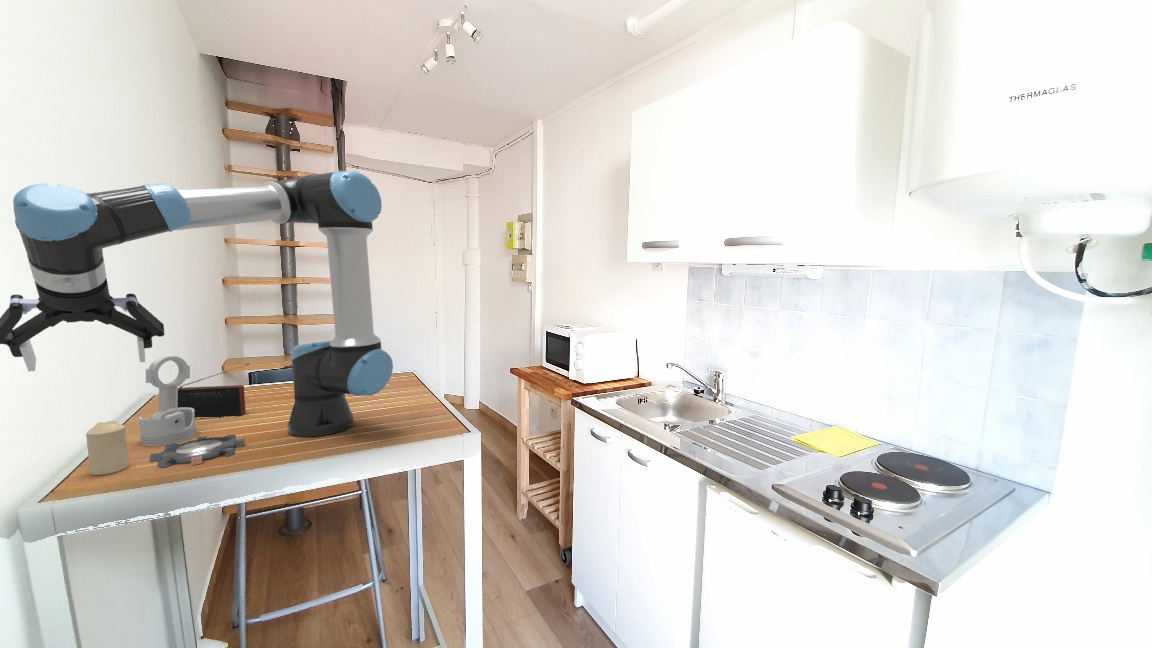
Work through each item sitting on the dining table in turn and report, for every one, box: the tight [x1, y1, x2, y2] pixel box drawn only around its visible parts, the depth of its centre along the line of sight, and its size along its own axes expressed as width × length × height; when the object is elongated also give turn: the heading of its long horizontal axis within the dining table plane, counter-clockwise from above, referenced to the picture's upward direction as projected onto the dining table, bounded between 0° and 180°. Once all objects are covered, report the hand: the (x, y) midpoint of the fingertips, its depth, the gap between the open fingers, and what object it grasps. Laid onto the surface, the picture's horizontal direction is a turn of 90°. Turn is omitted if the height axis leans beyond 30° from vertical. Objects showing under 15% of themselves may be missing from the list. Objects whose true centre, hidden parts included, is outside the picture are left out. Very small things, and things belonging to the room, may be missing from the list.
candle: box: [85, 420, 130, 476], centre depth 91 cm, size 6×6×10 cm
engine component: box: [138, 355, 197, 447], centre depth 109 cm, size 11×20×10 cm
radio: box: [178, 363, 250, 418], centre depth 126 cm, size 19×3×15 cm, turn 103°
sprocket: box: [149, 434, 246, 468], centre depth 101 cm, size 16×16×1 cm
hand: (90, 360), depth 81 cm, fingers open, 13 cm apart
